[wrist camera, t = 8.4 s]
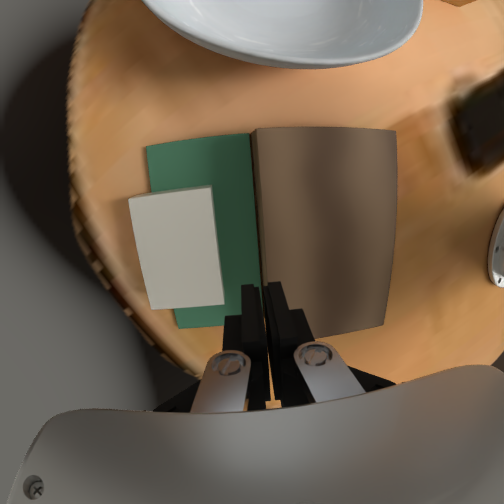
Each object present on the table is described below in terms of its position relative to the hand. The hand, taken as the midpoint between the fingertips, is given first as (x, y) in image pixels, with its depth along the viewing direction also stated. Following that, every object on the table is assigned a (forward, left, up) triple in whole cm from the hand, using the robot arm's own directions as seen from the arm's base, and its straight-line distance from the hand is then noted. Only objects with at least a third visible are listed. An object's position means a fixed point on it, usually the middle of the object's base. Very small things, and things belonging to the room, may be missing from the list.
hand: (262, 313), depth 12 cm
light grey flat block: (+5, 0, -9) cm, 10 cm away
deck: (-6, 0, -11) cm, 13 cm away
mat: (+3, 0, -11) cm, 12 cm away
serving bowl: (-4, -22, -12) cm, 25 cm away
